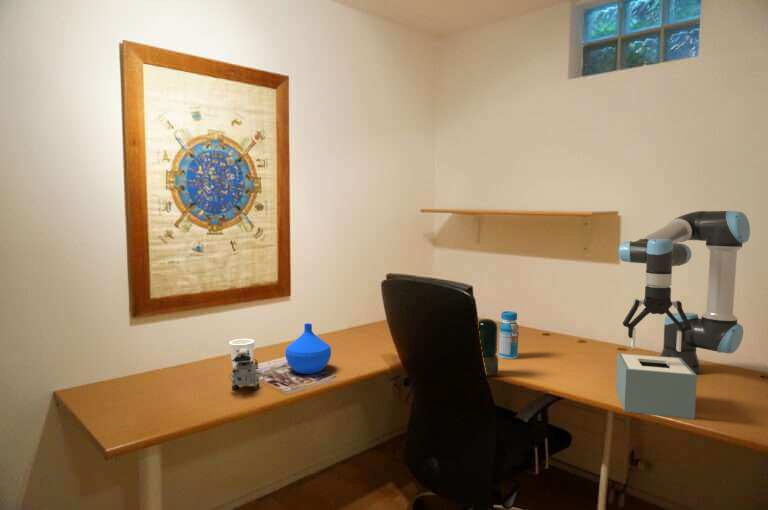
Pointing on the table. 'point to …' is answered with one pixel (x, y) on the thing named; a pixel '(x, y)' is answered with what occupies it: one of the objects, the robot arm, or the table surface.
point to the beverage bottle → (508, 335)
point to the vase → (308, 353)
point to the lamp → (489, 345)
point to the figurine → (244, 370)
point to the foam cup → (239, 344)
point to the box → (656, 385)
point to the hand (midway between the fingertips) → (655, 349)
